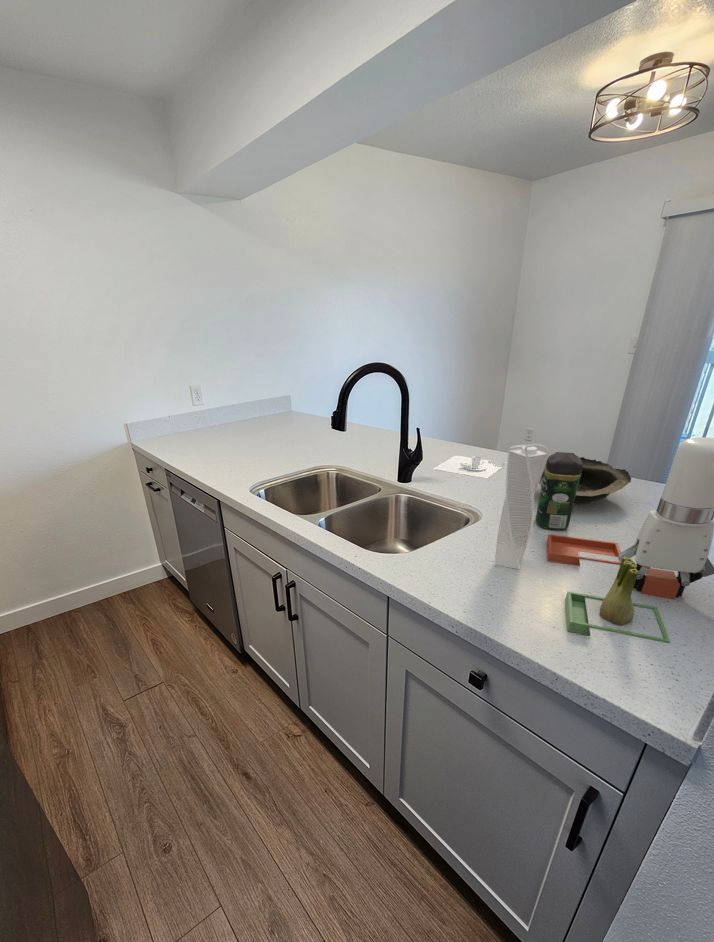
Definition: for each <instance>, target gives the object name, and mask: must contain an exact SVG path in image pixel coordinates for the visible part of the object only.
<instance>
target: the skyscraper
mask: <svg viewBox="0 0 714 942" xmlns="http://www.w3.org/2000/svg"><path fill="white" fill-rule="evenodd" d="M538 447H539V448H542V449H544V451H541V450H538ZM549 456H550V451H549V450H548V448H547V446H546V445H544V444H542V443H529V444H517V445H512V446H510V447H509V448H508V451H507V460H506V461H507V462H506V474H505V475H506V476H505V498H504V501H503V505H502V508H501V509H502V510H501V514H500V518H499V524H498V531H497V537H496V538H497V539H496V545H495V555H494V566H500V567H505V568H510V569H516V570H519V571H520V570H521V567H520V566H521V562H522V560H523V557H524V555H525V552H526V549H527V545H528V542H529V539H530V535H531V531H532V526H533V521H534V513H535V493H536V491H537V488H538V486H539V485H540V484H539V481H540V478H541V476H542V473H543V470H544V468H545V465H546V462H547V459H548V457H549Z"/></svg>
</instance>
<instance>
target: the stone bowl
mask: <svg viewBox="0 0 714 942" xmlns="http://www.w3.org/2000/svg"><path fill="white" fill-rule="evenodd" d="M579 458H580V459H581V460H582V463H583V467H582V473H581V476H580V480H579V484H578V488H577V492H576V497H575V501H574V505H581V504H582V505H583V504H585V505H586V504H591V503H593V502H597V501H601V500H603V499H605V498H608V496H610V495H611V494H613V493H616V492H618V491H620V490H622V489H624V488H625V487H626V486H628V484H630V483H631V482H632V477H631V475H630V473H629V471H627V470H626V469H625V468H622V469H621V468H613V466H612V465H610V464H608V463H605V462H602V461H601V460H597V459H595V458H594V459H590V458H586V457H584V456H581V457H579ZM547 460H548V459H547ZM546 463H547V462H546ZM545 467H546V465H545ZM544 472H545V468H544V470H543V473H542V476H541V478H540V481H539V484H538V485H540V487H542V481H543V477H544Z"/></svg>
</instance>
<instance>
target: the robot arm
mask: <svg viewBox="0 0 714 942" xmlns="http://www.w3.org/2000/svg"><path fill="white" fill-rule="evenodd" d="M638 531H639V532H638V533H637V536H636V538H635V540H634V543H633V545H632V546H630V547H629V548H627V549H625V550H623V551H621V553H620V554H619V555H618V557H617V559H618V562H622V558H623V557H629V558H631V562H632V564H636V565H637V571H638V575H637V578H636V581H635V584H634V587H633V590H634V589H635V590H636V592H641V590H642V587H643V584H644V578H643V577H644V575H645V574H646V573H647V571H648V570H649V569H650V568H652V569H659V570H666V571H673V572H677V576H676V577H677V580H678V582H679V584H680V587H679V589H678V592H677V594H676V597H675V599H676V598H677V599H679V597H682V596H683V593H684V591H685V588H686V587H688V586H690V584H692V583H694V582H697V581H699V580H701V579H703V578H706V577H709V576H713V575H714V565H713V563H712V562H711V561H710V559H709V554H710V551H711V546H712V543H713V537H714V437H707V436H700V437H698V436H697V437H689V438H687V439H684V440H683V441H681V442H680V444H679V445H678V447H677V449H676V451H675V455H674V457H673V461H672V463H671V465H670V469H669V472H668V476H667V478H666V481H665V484H664V487H663V490H662V493H661V496H660V499H659V502H658V505H657V508H656V509H652V510H650V511H649V512H648V515H647V516H646V518H645V519H644V521H643V523H642V525H641V527H640V529H639V530H638ZM634 556H635V559H634V560H635V562H634V560H632V558H633V557H634Z"/></svg>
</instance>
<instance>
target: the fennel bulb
mask: <svg viewBox="0 0 714 942" xmlns="http://www.w3.org/2000/svg"><path fill="white" fill-rule="evenodd" d="M631 560H632V557H631V558H629V557H623V558H622V562H621V565H619V569H618V571H617V574H616V577H615V580H614V582H613V584H612V585H611V587H610V588H609V590H608V592H607V594H605V597H604V598H605V599H604V600H602V602H601V604H600V608H599V616H600V618H601V619H603V620H604V621H606V622H610V623H611V624H613V625H617V626H624V625H628V624H630V623H631V622H632V621H633V619H634V616H635V609H634V606H633V603H634V602H633V599H632V593H633V591H634V588H633V587H634V584H635V581H636V578H637V575H638V571H637V565H636V564H637V563H635V564H632V562H631Z"/></svg>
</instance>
